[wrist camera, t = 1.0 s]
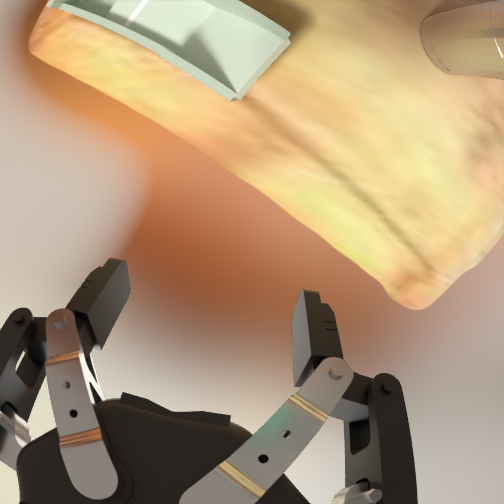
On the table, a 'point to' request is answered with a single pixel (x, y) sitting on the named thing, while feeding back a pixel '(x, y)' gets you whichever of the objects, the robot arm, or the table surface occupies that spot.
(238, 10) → the lane
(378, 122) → the table surface
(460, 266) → the table surface
